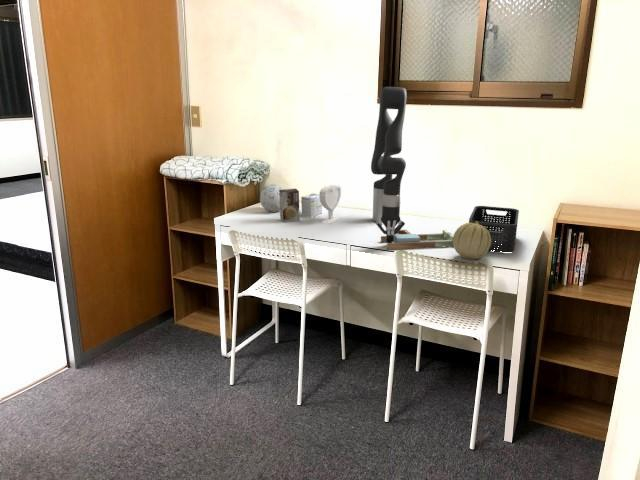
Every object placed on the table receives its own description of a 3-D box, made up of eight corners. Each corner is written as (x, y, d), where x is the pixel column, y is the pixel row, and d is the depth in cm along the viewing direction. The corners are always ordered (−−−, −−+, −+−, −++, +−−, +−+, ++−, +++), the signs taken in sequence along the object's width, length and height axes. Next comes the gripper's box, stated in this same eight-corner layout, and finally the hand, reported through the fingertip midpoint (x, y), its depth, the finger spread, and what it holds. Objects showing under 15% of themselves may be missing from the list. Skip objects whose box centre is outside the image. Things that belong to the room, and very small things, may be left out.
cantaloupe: (448, 261, 202) (451, 224, 197) (454, 250, 215) (457, 216, 210) (487, 266, 196) (490, 228, 192) (491, 254, 209) (494, 219, 205)
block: (393, 244, 224) (394, 234, 223) (415, 243, 225) (416, 233, 224) (397, 248, 218) (397, 238, 217) (419, 247, 219) (420, 237, 218)
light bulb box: (312, 212, 280) (312, 192, 277) (322, 213, 277) (322, 194, 273) (301, 215, 272) (300, 196, 269) (311, 217, 268) (310, 197, 265)
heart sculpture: (326, 224, 256) (326, 189, 250) (318, 222, 258) (318, 188, 253) (342, 217, 268) (342, 184, 263) (334, 216, 271) (334, 183, 265)
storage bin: (513, 255, 209) (517, 224, 205) (465, 250, 216) (467, 219, 212) (516, 236, 234) (519, 208, 230) (472, 232, 241) (475, 205, 237)
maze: (376, 236, 235) (376, 227, 234) (438, 233, 239) (439, 224, 238) (388, 249, 216) (388, 240, 214) (456, 246, 220) (456, 237, 219)
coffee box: (296, 218, 267) (296, 188, 262) (299, 221, 261) (299, 190, 257) (279, 219, 265) (278, 189, 260) (282, 222, 259) (282, 191, 254)
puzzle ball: (289, 213, 277) (289, 186, 272) (262, 215, 273) (261, 188, 269) (284, 207, 291) (283, 181, 286) (258, 209, 287) (257, 183, 282)
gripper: (403, 201, 221) (401, 239, 226) (374, 202, 219) (372, 240, 224) (408, 205, 214) (406, 244, 219) (378, 206, 212) (376, 246, 217)
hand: (389, 242), depth 222 cm, fingers closed
